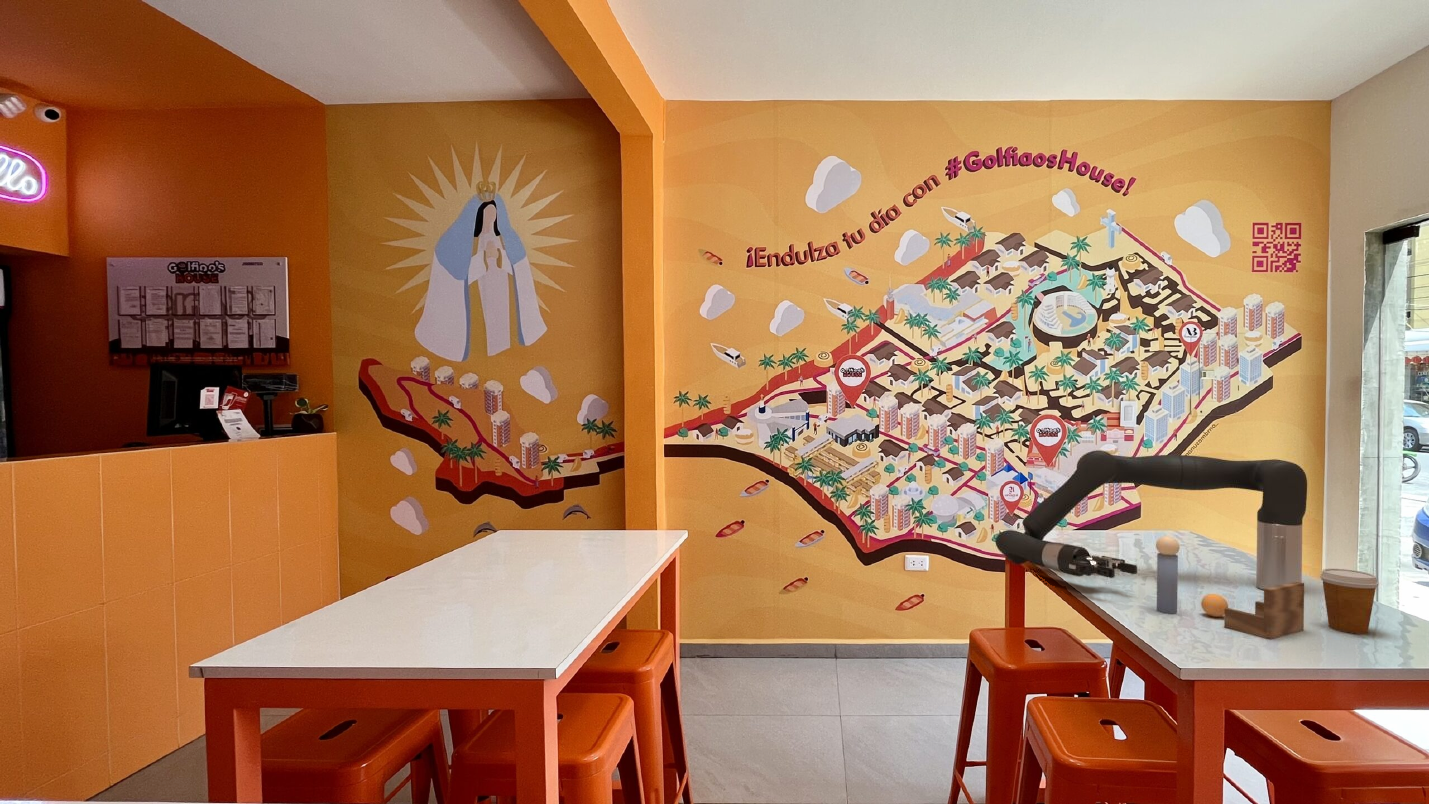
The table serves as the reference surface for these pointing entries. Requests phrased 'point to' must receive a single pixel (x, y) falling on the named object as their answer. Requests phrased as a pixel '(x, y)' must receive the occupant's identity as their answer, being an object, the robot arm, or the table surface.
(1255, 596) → the table surface
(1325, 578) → the disposable coffee cup
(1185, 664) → the table surface
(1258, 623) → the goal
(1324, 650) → the table surface
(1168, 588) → the player figure
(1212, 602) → the ball
